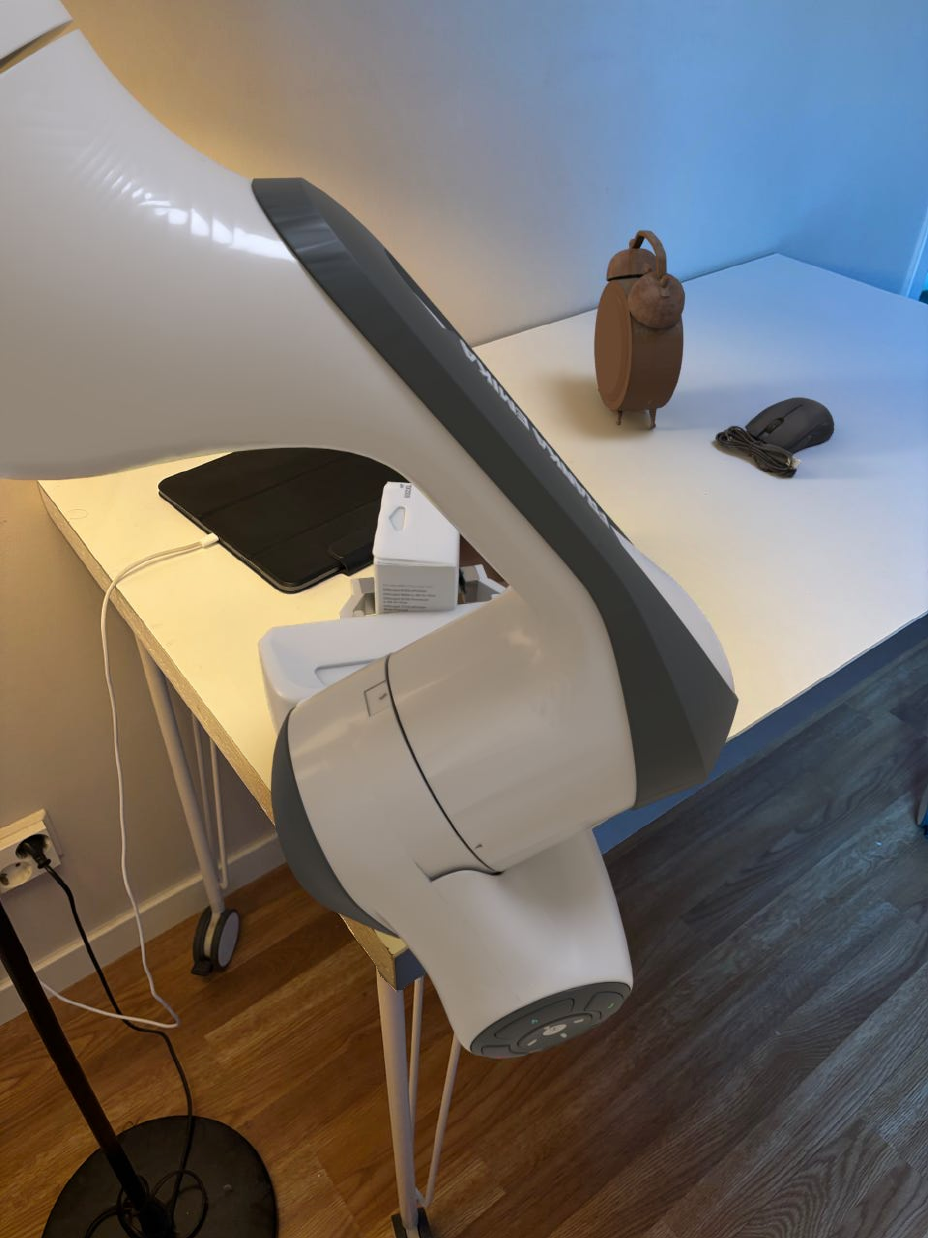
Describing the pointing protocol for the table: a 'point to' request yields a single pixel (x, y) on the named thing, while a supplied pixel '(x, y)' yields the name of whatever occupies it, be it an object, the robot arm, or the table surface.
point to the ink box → (414, 554)
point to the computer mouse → (781, 433)
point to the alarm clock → (639, 330)
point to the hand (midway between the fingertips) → (415, 579)
